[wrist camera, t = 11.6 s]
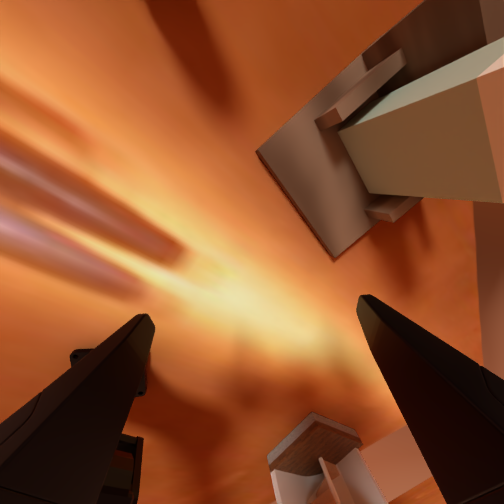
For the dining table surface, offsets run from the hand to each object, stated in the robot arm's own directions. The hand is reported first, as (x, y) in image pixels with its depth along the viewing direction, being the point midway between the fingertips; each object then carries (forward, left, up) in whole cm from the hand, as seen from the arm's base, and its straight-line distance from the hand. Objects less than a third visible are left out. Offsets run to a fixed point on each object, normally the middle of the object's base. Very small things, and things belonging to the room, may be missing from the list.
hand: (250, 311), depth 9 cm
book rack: (+8, -11, -11) cm, 18 cm away
